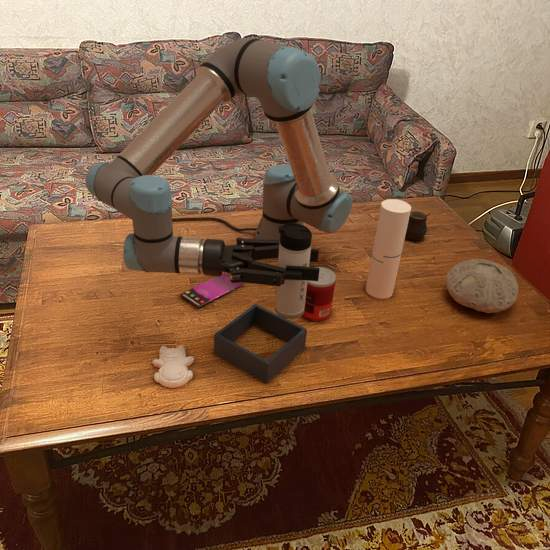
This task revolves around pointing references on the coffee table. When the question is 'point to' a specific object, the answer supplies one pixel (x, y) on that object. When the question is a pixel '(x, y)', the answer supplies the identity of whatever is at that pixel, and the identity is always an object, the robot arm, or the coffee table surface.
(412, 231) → the mate gourd
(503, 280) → the decorative shell
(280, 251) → the travel mug
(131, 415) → the coffee table surface
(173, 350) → the white animal figurine
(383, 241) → the cylindrical container
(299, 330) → the frame
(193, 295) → the smartphone
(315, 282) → the canned food
